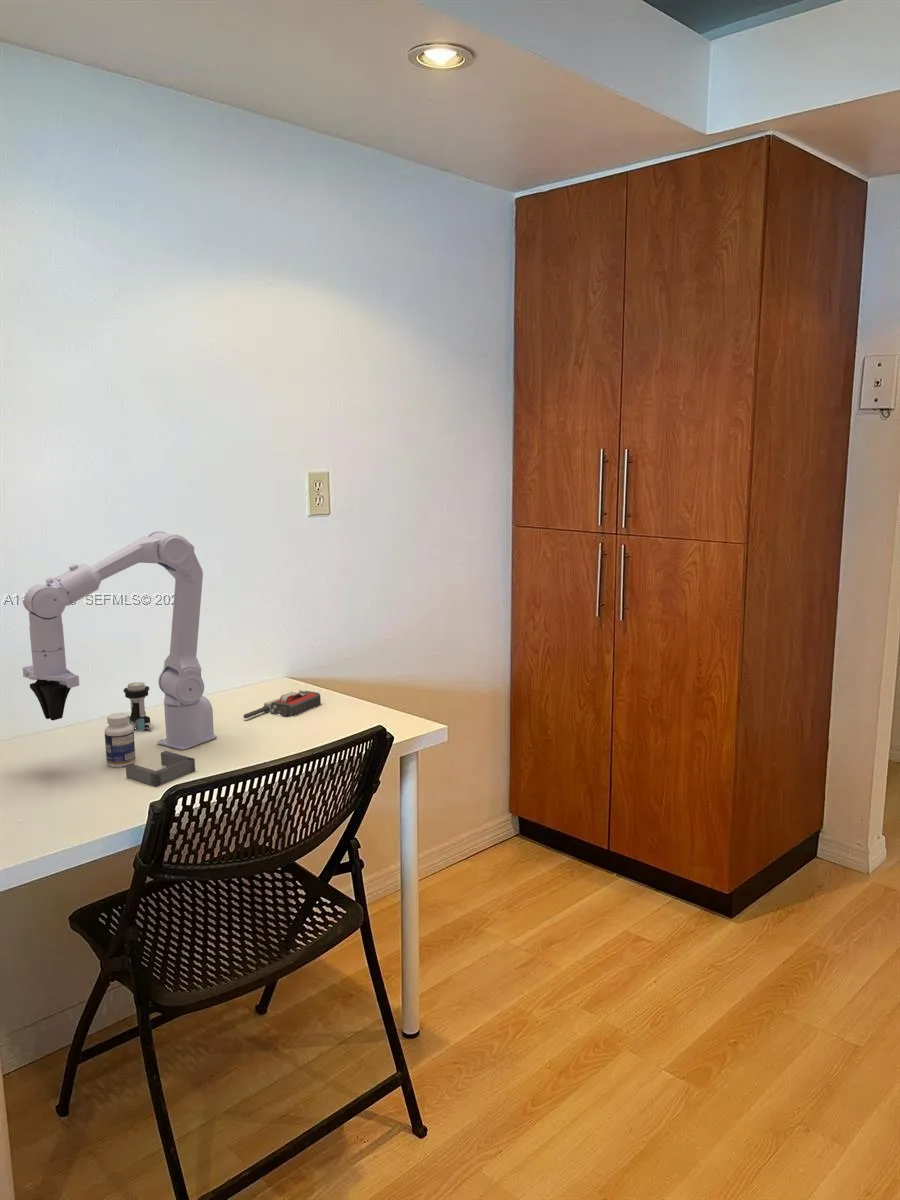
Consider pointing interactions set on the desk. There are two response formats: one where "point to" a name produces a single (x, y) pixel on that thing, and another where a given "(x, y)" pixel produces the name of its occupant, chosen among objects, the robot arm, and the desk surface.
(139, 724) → the push button
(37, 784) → the desk surface
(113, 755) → the pill bottle
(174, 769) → the docking socket
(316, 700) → the walkie-talkie
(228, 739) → the desk surface
